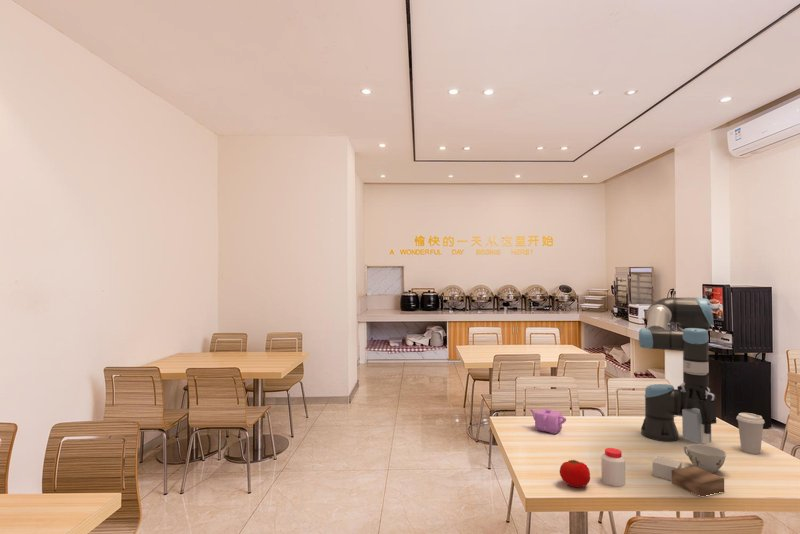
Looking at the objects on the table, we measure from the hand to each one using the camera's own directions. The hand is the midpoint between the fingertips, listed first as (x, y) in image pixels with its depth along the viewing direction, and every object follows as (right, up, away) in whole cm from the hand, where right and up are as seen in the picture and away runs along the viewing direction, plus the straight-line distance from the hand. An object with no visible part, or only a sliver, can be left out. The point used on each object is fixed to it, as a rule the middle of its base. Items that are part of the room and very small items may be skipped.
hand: (696, 438), depth 160 cm
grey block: (-4, -17, +10) cm, 20 cm away
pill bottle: (-27, -17, +4) cm, 32 cm away
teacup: (+12, -17, +15) cm, 26 cm away
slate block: (0, 0, 0) cm, 0 cm away
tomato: (-42, -17, +1) cm, 45 cm away
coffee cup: (+45, -18, +33) cm, 59 cm away
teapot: (-33, -18, +59) cm, 70 cm away
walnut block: (0, -17, 0) cm, 17 cm away
